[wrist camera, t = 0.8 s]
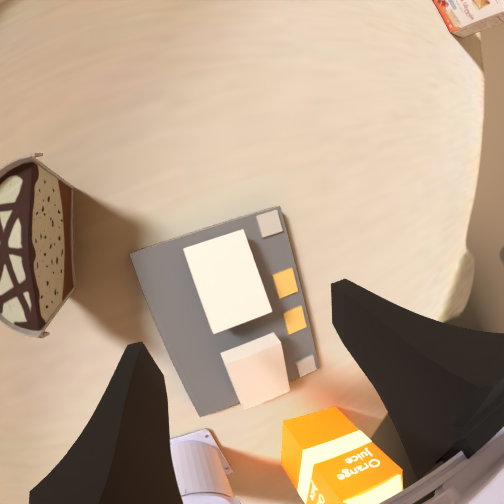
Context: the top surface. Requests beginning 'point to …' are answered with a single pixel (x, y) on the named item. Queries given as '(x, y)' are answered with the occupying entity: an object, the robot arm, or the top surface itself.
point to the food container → (34, 245)
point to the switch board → (211, 345)
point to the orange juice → (336, 461)
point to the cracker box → (470, 15)
